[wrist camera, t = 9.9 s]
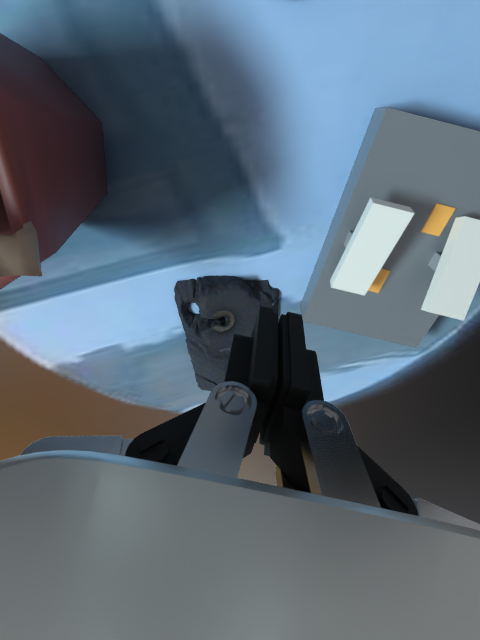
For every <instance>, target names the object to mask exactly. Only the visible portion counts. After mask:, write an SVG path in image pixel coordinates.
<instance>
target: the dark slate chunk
mask: <svg viewBox="0 0 480 640" xmlns="http://www.w3.org/2000/svg"><path fill="white" fill-rule="evenodd" d="M174 292H175V301H176V304H177V308H178V311H179V316H180V318H181V321H182V325H183V328H184V331H185V333H186V337H187V338H186V343H187V348H188V352H189V355H190V357H191V362H192V364H193V368H194V371H195V377H196V381H197V383H198V387H199V388H200V389H202V390H208V391H212V390H213V388H214V387H215V386H216V385H218V384H219V383H223V382H224V377H225V372H226V368H227V363H228V358H229V354H230V349H231V345H232V340H233V336H234V334H238V335H243V336H248V337H251V335H252V331H253V327H254V324H255V320H256V316H257V312H258V309H259V306H264V307H268V308H273V312H274V313H277V310H278V308H277V307H278V302H279V299H278V296H279V290H278V289H275V288H274V289H272V288H271V287H270V286H269V282H268V280H262V281H258V280H242V279H239V278H237V277H235V276H204V277H203V278H202V279H200V278H197V280H193V279H190V280H189V281H177V283H176V286H175V288H174ZM191 302H193V303H196V304H197V305H198V306H199V309H200V310H199V313H200V314H192V313H191V312H190V311H189V309H188V306H189V304H190V303H191Z"/></svg>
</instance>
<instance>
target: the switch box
mask: <svg viewBox="0 0 480 640" xmlns="http://www.w3.org/2000/svg"><path fill="white" fill-rule="evenodd" d="M370 197H372V198H376V199H380V200H384V201H388V202H392V203H396V204H400V205H404V206H408V207H411V209H412V210H413V211H414V213H415V214H414V215H413V217H412V219H411V220H410V222H409V224H408V225H407V227H406V229H405V230H404V232H403V233H402V235H401V237H400V238H399V240H398V242H397V243H396V245H395V247H394V248H393V250H392V251H391V253H390V255H389V256H388V258H387V260H386V261H385V263H384V265H383V266H382V268H381V270H380V271H379V273H378V274H377V276H376V278H375V279H374V281H373V283H372V284H371V286H370V288H369V289H368V291H367V293H366V294H365V296H364V295H360V294H356V293H352V292H347V291H343V290H339V289H335V288H331V284H330V280H331V277H332V275H333V273H334V271H335V269H336V267H337V265H338V263H339V261H340V259H341V257H342V255H343V253H344V251H345V249H346V247H347V245H348V243H349V241H350V238H351V236H352V234H353V232H354V230H355V228H356V226H357V224H358V222H359V220H360V218H361V216H362V214H363V212H364V210H365V208H366V206H367V204H368V202H369V199H370ZM463 216H466V217H470V218H474V219H478V220H480V131H477V130H473V129H469V128H465V127H461V126H457V125H453V124H450V123H446V122H442V121H438V120H434V119H430V118H426V117H423V116H419V115H415V114H411V113H407V112H403V111H400V110H396V109H392V108H388V107H384V108H375V111H374V113H373V116H372V118H371V121H370V124H369V126H368V129H367V132H366V134H365V137H364V139H363V142H362V145H361V147H360V150H359V153H358V155H357V158H356V160H355V163H354V166H353V168H352V171H351V174H350V176H349V179H348V181H347V184H346V187H345V189H344V192H343V195H342V197H341V200H340V203H339V205H338V208H337V210H336V213H335V216H334V218H333V221H332V224H331V226H330V229H329V231H328V234H327V237H326V239H325V242H324V245H323V247H322V250H321V252H320V255H319V258H318V260H317V263H316V266H315V268H314V271H313V273H312V276H311V279H310V281H309V284H308V287H307V289H306V292H305V294H304V297H303V300H302V302H301V305H300V308H301V315H302V319H303V321H305V322H309V323H313V324H317V325H322V326H326V327H330V328H334V329H339V330H343V331H347V332H351V333H355V334H360V335H364V336H368V337H372V338H377V339H381V340H385V341H389V342H394V343H398V344H402V345H406V346H411V347H415V348H417V346H418V345H419V343H420V342H421V340H422V339H423V338H424V336H425V335H426V333H427V332H428V330H429V329H430V328H431V326H432V325H433V323H434V322H435V320H436V319H437V318H438V316H439V315H438V314H434V313H430V312H427V311H424V310H421V308H422V305H423V302H424V300H425V297H426V295H427V292H428V289H429V287H430V284H431V281H432V279H433V276H434V273H435V271H436V268H437V265H438V263H439V260H440V258H441V255H442V252H443V250H444V247H445V244H446V242H447V239H448V236H449V234H450V231H451V229H452V226H453V223H454V221H455V218H457V217H463Z"/></svg>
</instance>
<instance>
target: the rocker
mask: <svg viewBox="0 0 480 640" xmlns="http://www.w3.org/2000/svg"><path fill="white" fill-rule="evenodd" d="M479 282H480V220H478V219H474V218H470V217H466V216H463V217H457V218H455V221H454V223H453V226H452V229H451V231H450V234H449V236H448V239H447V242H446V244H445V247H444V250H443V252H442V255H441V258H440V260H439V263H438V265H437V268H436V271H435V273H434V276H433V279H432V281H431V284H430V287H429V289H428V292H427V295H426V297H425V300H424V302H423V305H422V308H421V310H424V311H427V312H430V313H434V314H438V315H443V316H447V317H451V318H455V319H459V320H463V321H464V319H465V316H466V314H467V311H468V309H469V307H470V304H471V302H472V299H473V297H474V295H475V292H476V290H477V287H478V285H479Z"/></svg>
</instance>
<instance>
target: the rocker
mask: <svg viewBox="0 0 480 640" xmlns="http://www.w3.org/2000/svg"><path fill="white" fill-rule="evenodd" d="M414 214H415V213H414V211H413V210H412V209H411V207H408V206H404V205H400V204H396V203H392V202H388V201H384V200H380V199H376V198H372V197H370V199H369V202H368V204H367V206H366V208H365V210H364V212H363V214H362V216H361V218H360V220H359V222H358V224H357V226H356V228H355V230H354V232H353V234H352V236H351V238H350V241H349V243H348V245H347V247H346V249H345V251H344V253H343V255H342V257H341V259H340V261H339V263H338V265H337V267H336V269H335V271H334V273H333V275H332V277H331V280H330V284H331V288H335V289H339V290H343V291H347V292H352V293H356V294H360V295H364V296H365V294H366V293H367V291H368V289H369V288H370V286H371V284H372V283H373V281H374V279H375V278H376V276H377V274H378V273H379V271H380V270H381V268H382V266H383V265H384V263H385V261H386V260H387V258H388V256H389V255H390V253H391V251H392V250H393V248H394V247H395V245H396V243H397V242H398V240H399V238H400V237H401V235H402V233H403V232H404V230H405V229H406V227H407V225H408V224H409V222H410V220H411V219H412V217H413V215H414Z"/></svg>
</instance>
